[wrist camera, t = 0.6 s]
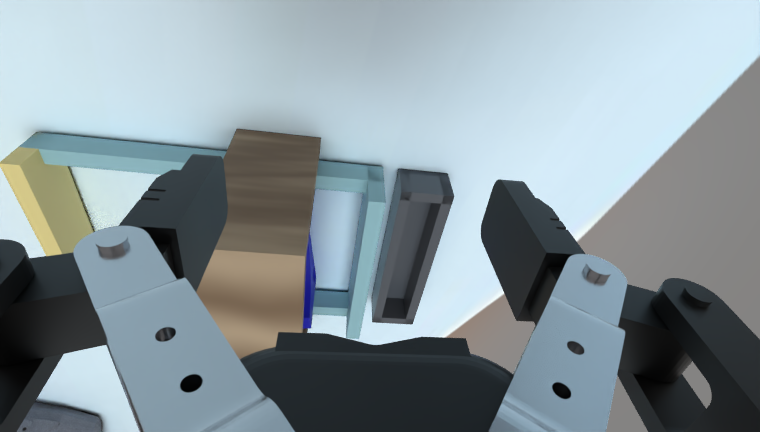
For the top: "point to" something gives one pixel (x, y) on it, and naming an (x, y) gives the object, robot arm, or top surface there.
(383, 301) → the pit trough
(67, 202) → the sled
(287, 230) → the tunnel arch
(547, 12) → the top surface
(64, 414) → the soft grey pack
